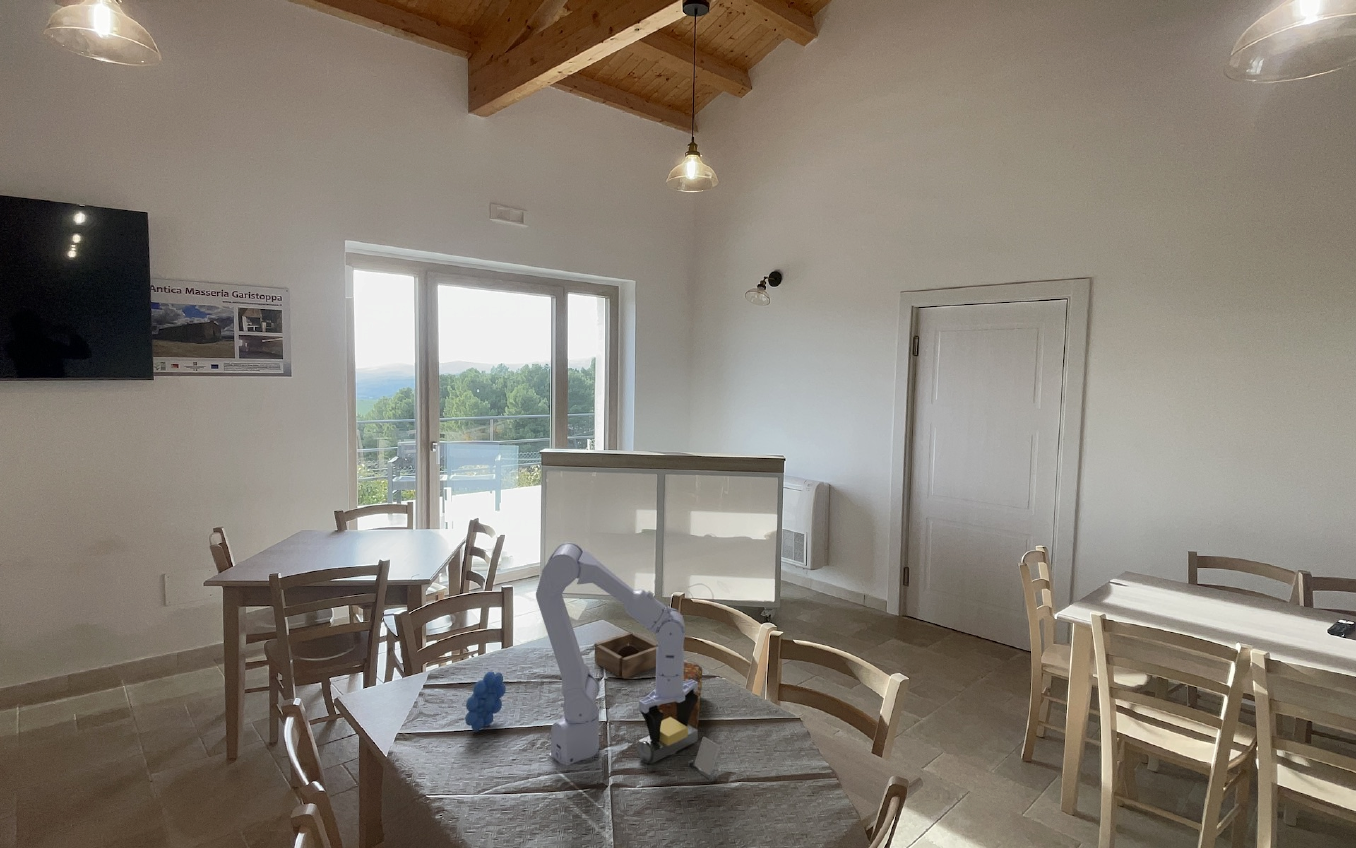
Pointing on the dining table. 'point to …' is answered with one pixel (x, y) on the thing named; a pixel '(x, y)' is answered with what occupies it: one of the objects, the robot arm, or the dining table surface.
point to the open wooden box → (628, 665)
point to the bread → (695, 674)
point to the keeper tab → (706, 757)
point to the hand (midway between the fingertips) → (668, 733)
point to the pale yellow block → (672, 731)
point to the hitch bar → (666, 748)
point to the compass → (627, 650)
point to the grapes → (485, 701)
